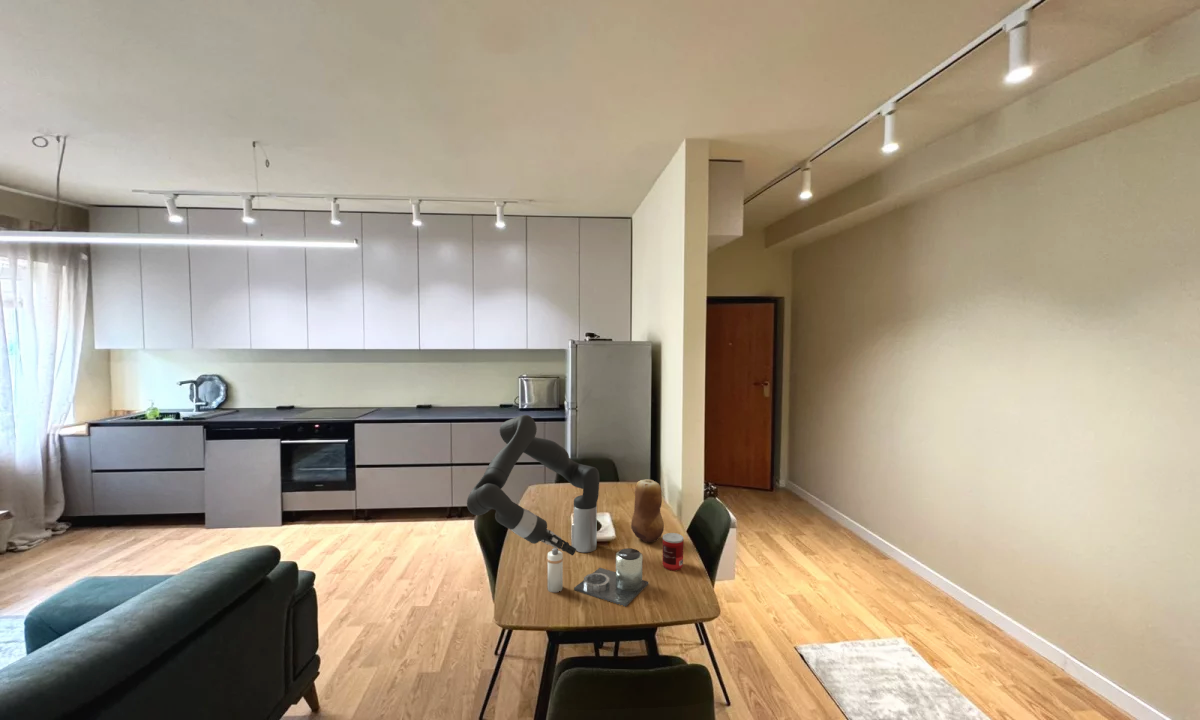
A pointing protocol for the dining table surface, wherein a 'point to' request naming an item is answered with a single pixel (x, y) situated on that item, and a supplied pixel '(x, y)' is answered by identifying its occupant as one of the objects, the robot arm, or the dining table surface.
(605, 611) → the dining table surface
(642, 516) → the butternut squash
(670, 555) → the canned food
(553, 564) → the bottle
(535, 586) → the dining table surface
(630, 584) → the grey tray with jar
